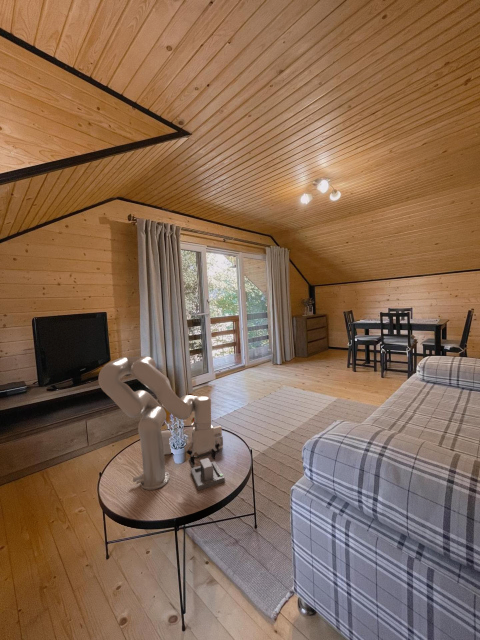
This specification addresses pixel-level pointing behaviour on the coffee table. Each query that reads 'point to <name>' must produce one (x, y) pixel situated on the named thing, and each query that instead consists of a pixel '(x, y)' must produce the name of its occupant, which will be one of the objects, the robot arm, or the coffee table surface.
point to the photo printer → (166, 441)
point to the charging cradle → (205, 484)
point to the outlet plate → (219, 435)
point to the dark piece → (202, 455)
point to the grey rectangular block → (206, 469)
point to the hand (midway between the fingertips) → (203, 460)
